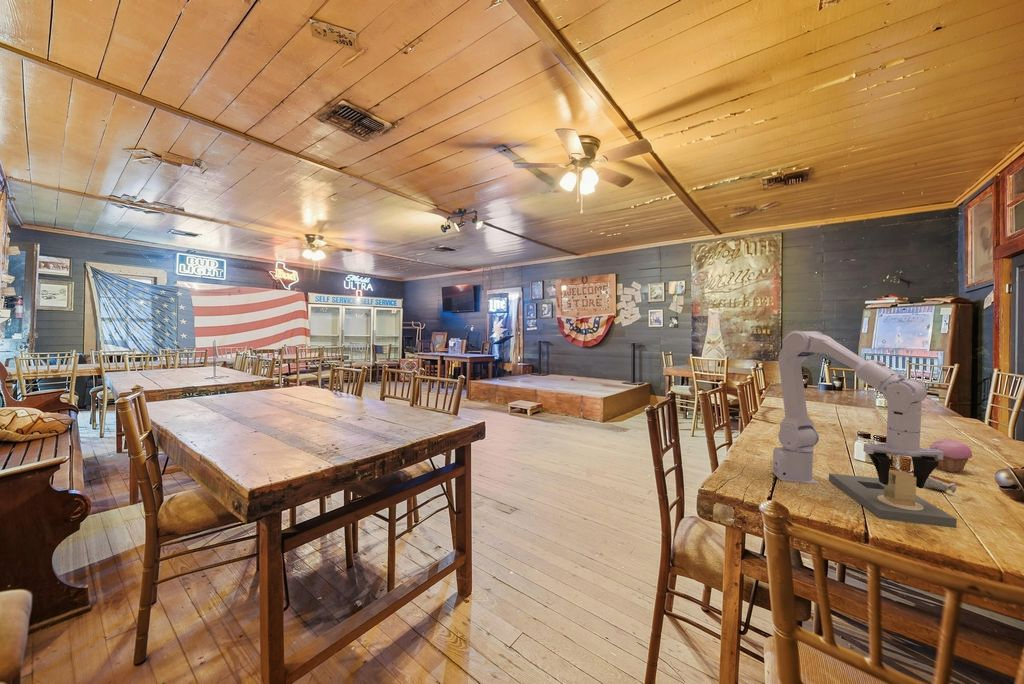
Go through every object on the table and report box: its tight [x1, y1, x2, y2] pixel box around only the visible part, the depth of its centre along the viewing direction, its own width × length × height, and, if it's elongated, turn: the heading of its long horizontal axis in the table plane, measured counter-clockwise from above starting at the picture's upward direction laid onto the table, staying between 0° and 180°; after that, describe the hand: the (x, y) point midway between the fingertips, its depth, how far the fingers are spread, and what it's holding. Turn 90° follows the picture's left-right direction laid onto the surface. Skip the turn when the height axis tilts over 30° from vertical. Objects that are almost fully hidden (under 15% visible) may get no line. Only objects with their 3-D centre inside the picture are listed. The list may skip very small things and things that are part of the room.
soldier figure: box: [898, 469, 957, 494], centre depth 110 cm, size 8×5×12 cm
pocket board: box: [828, 473, 958, 529], centre depth 101 cm, size 14×24×3 cm, turn 163°
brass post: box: [884, 469, 917, 506], centre depth 95 cm, size 4×4×7 cm
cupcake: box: [929, 438, 973, 473], centre depth 124 cm, size 9×9×10 cm
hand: (900, 485), depth 95 cm, fingers open, 6 cm apart
